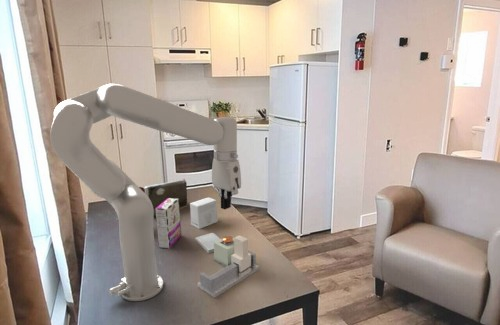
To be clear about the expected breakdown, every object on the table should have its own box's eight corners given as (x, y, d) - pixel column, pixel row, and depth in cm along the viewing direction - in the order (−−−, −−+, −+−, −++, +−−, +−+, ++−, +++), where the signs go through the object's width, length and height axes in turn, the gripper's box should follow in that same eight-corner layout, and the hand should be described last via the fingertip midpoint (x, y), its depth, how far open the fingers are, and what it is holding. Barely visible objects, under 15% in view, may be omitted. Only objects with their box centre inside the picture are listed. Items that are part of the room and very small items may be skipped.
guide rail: (214, 297, 96) (214, 282, 95) (197, 286, 101) (196, 271, 100) (259, 269, 110) (259, 255, 109) (242, 260, 116) (241, 247, 114)
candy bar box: (170, 234, 135) (167, 197, 131) (181, 235, 134) (179, 198, 130) (157, 248, 125) (154, 208, 121) (170, 249, 124) (167, 209, 120)
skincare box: (209, 217, 152) (208, 196, 149) (218, 221, 147) (217, 200, 145) (190, 224, 145) (189, 202, 142) (199, 229, 140) (198, 206, 137)
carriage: (240, 272, 106) (240, 243, 104) (231, 267, 109) (230, 238, 107) (251, 265, 110) (251, 237, 107) (241, 261, 113) (241, 233, 110)
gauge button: (227, 259, 113) (227, 241, 112) (220, 255, 116) (220, 238, 114) (235, 255, 116) (234, 238, 114) (228, 252, 118) (227, 234, 117)
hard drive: (227, 244, 125) (213, 232, 135) (208, 250, 121) (195, 237, 131) (227, 248, 125) (213, 235, 135) (208, 254, 121) (195, 240, 131)
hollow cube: (227, 267, 111) (227, 249, 110) (214, 260, 116) (213, 242, 114) (242, 259, 116) (241, 241, 115) (228, 252, 121) (228, 235, 119)
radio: (185, 202, 171) (184, 175, 167) (194, 207, 164) (192, 178, 161) (142, 213, 157) (139, 184, 153) (149, 219, 150) (146, 188, 147)
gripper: (249, 157, 104) (249, 210, 109) (218, 150, 114) (219, 199, 119) (233, 161, 99) (233, 217, 103) (201, 153, 109) (203, 205, 113)
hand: (225, 207), depth 111 cm, fingers closed
